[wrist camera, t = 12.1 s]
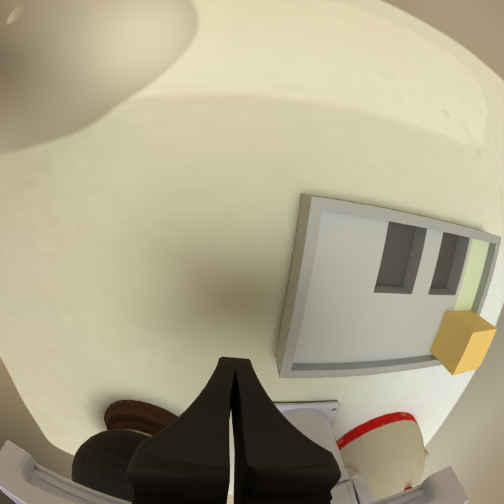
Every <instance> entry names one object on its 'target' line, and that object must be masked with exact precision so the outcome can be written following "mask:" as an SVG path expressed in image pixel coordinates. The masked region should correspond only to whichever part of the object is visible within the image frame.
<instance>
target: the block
mask: <svg viewBox="0 0 504 504" xmlns="http://www.w3.org/2000/svg"><path fill="white" fill-rule="evenodd" d="M496 330H497V328H495V327H494V326H493V325H491V324H490V323H488V322H487V321H486V320H484V319H483V318H481V317H480V316H479V315H477V314H476V313H474V312H473V311H471V310H460V311H445V313H444V315H443V318H442V321H441V324H440V326H439V329H438V331H437V334H436V336H435V339H434V341H433V344H432V346H431V348H430V352H431V353H432V354H433V355H434V356H435V357H436V358H437V359H438V360H439V361H440V362H441V363H442V364H443V366H444V367H445V368H446V369H447V370H448V371H449V372H450V373H451V374H452V375H456V374H460V373H464V372H467V371H471V370H474V369H477V368H479V366H480V364H481V362H482V360H483V358H484V356H485V354H486V352H487V350H488V348H489V346H490V344H491V341H492V339H493V337H494V334H495V332H496Z"/></svg>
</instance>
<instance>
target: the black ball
mask: <svg viewBox="0 0 504 504" xmlns="http://www.w3.org/2000/svg"><path fill="white" fill-rule="evenodd" d="M177 418H178V417H177V416H175V415H174V414H172V413H170V412H169V411H167V410H165V409H162V408H160V407H158V406H155V405H152V404H149V403H145V402H141V401H134V400H122V401H117V402H115V403H113V404H111V405H110V406H109V407H108V409H107V411H106V413H105V416H104V421H105V424H106V426H107V430H108V431H103V432H100V433H98V434H96V435H94V436H92V437H90V438H89V439H88V440H87V441H86V442H84V443H83V444H82V445H81V446H80V448H79V449H78V451H77V452H76V454H75V457H74V460H73V464H72V480H73V482H75V483H78V484H80V485H82V486H85V487H87V488H90V489H92V490H95V491H98V492H101V493H103V494H106V495H109V496H112V497H115V498H119V499H122V500H125V501H129V502H132V500H133V496H134V492H135V491H134V489H133V488H132V486H131V484H130V482H129V481H128V479H127V476H126V472H127V469H128V466H129V462H130V460H131V458H132V456H133V454H134V452H135V450H136V449H137V447H138V446H139V444H140V443H141V442H143V441H145V440H147V439H148V438H150V437H152V436H154V435H155V434H157V433H158V432H160V431H161V430H163V429H164V428H165V427H167V426H168V425H170V424H171V423H172V422H173V421H175V420H176V419H177Z"/></svg>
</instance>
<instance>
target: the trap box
mask: <svg viewBox="0 0 504 504" xmlns="http://www.w3.org/2000/svg"><path fill="white" fill-rule="evenodd" d="M500 241H501V237H499V236H496V235H493V234H490V233H487V232H484V231H480V230H477V229H473V228H469V227H466V226H462V225H458V224H454V223H450V222H446V221H442V220H438V219H434V218H430V217H425V216H421V215H417V214H412V213H407V212H403V211H398V210H393V209H388V208H383V207H378V206H373V205H367V204H362V203H356V202H351V201H345V200H339V199H333V198H327V197H320V196H313V195H307V194H301V201H300V209H299V216H298V223H297V230H296V237H295V244H294V251H293V257H292V264H291V270H290V276H289V283H288V289H287V295H286V300H285V306H284V312H283V318H282V323H281V329H280V334H279V339H278V345H277V350H276V355H275V358H276V363H277V368H278V373H279V378H322V377H345V376H360V375H371V374H381V373H390V372H398V371H406V370H413V369H419V368H425V367H431V366H436V365H442V363H441V362H440V361H439V360H438V359H437V358H436V357H435V356H434V355H433V354H432V353H431V352H430V348H431V346H432V344H433V341H434V339H435V336H436V334H437V331H438V329H439V326H440V324H441V321H442V318H443V315H444V313H445V311H460V310H471V311H473V312H474V313H476V314H477V315H480V313H481V310H482V307H483V304H484V301H485V298H486V295H487V292H488V289H489V286H490V282H491V279H492V275H493V271H494V268H495V264H496V259H497V255H498V251H499V246H500Z"/></svg>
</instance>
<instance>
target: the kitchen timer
mask: <svg viewBox="0 0 504 504" xmlns="http://www.w3.org/2000/svg"><path fill="white" fill-rule="evenodd" d="M336 443H337V446H338V449H339V452H340V455H341V458H342V461H343V464H344V467H345V469H347V472H348V475H349V478H350V481H351V484H352V487H353V482H352V479H351V476H354V475H356V474H357V475H358V476H361V477H364V479H365V480H366V483H367V485H368V487H369V490H370V493H371V495H372V498H373V501H375V500H379V499H382V498H385V497H388V496H391V495H394V494H397V493H400V492H403V491H406V490H408V489H411V488H413V487H416V486H418V484H419V482H420V480H421V477H422V474H423V471H424V465H425V459H427V458H428V457H429V454H428V452H427V450H426V449H425V448H424V443H423V437H422V434H421V431H420V428H419V426H418V423H417V422H416V420H415V419H414V417H413V416H412V415H411V414H409V413H405V412H396V413H391V414H386V415H383V416H380V417H378V418H375V419H372V420H370V421H368V422H366V423H364V424H362V425H360V426H358V427H356V428H354V429H353V430H351V431H350V432H348V433H346V434H345V435H344V436H342V437H341V438H340V439H339V440H338V441H336ZM353 490H354V488H353ZM354 493H355V491H354ZM355 495H356V494H355Z"/></svg>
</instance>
